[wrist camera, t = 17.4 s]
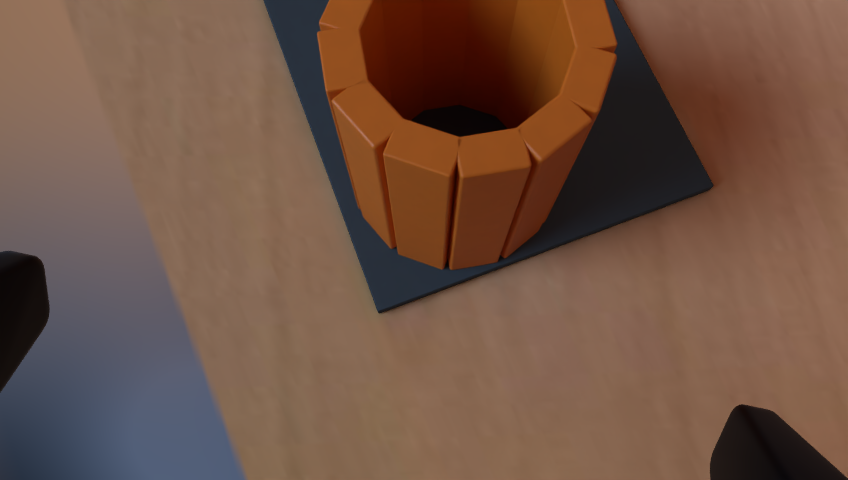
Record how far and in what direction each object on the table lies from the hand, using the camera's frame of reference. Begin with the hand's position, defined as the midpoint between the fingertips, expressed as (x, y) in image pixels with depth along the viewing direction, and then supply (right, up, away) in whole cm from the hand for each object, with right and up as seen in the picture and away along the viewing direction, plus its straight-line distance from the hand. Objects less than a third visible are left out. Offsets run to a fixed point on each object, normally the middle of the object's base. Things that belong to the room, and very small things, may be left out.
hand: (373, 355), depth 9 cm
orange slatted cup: (+2, +4, +15) cm, 16 cm away
